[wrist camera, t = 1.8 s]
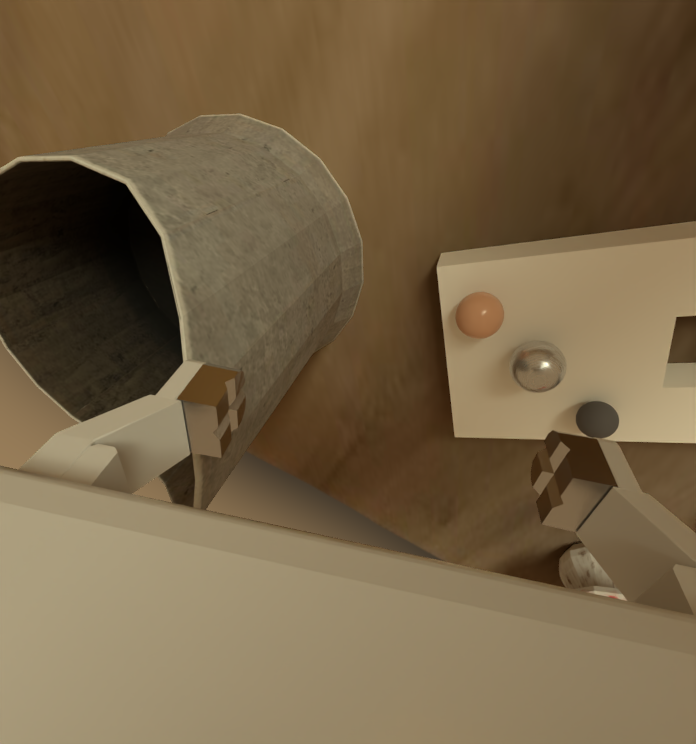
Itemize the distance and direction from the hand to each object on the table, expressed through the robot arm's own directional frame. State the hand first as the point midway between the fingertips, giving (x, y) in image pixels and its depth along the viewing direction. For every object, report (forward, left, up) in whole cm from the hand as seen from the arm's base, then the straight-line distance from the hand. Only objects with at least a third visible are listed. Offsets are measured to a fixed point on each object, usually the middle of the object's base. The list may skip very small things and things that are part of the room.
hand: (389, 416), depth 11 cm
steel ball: (-5, +12, -21) cm, 25 cm away
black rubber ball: (-10, +17, -22) cm, 29 cm away
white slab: (-11, +12, -27) cm, 31 cm away
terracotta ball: (-1, +7, -21) cm, 23 cm away
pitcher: (+24, 0, -27) cm, 36 cm away
